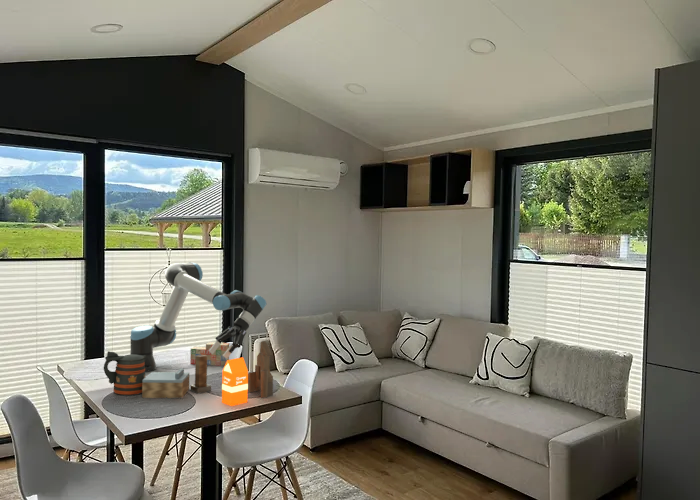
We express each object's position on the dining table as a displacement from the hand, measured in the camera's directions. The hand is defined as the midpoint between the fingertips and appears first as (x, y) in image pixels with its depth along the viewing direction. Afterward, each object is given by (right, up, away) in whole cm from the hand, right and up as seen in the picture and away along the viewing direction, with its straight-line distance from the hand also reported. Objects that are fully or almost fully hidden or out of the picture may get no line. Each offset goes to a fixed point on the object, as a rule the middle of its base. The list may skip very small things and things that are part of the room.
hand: (217, 354), depth 264 cm
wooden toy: (+22, -18, -6) cm, 29 cm away
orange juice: (+13, -18, -21) cm, 30 cm away
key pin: (-7, -17, -4) cm, 18 cm away
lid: (-21, -9, -10) cm, 26 cm away
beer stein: (-42, -16, -9) cm, 46 cm away
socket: (-7, -16, -4) cm, 18 cm away
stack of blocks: (-17, -15, +49) cm, 54 cm away
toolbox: (-22, -16, -10) cm, 29 cm away
